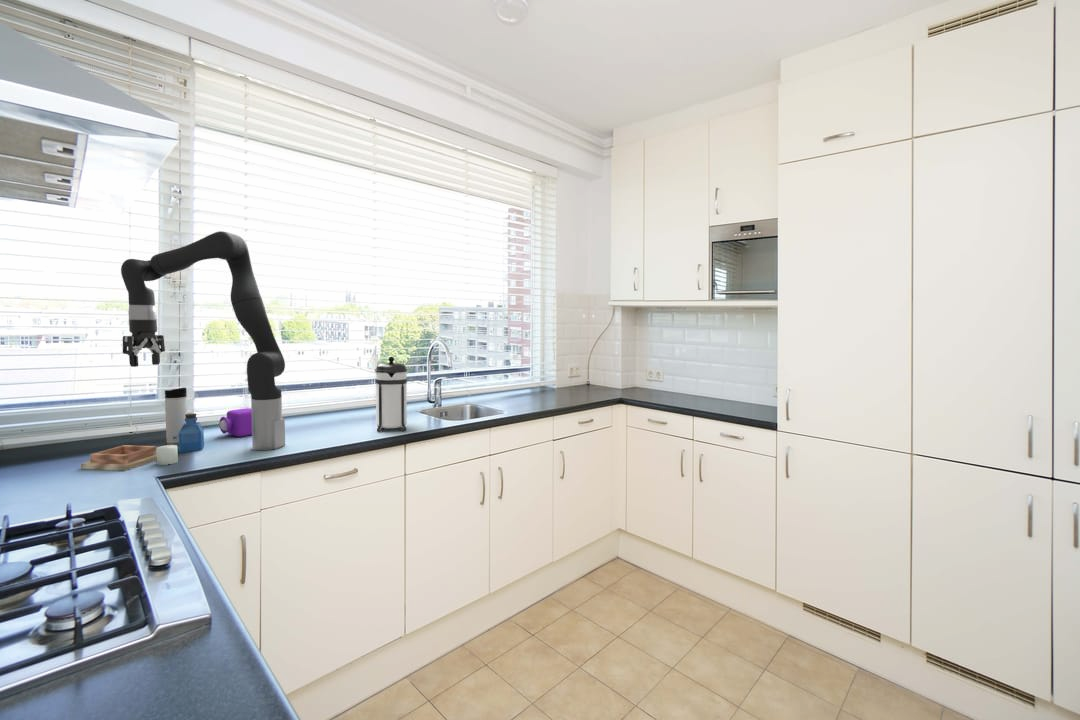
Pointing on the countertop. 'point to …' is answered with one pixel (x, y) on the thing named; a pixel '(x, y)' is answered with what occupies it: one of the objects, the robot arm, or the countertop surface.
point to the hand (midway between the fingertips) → (145, 365)
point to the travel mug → (175, 413)
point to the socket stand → (121, 458)
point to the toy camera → (237, 422)
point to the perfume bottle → (191, 435)
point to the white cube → (167, 454)
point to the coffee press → (391, 395)
